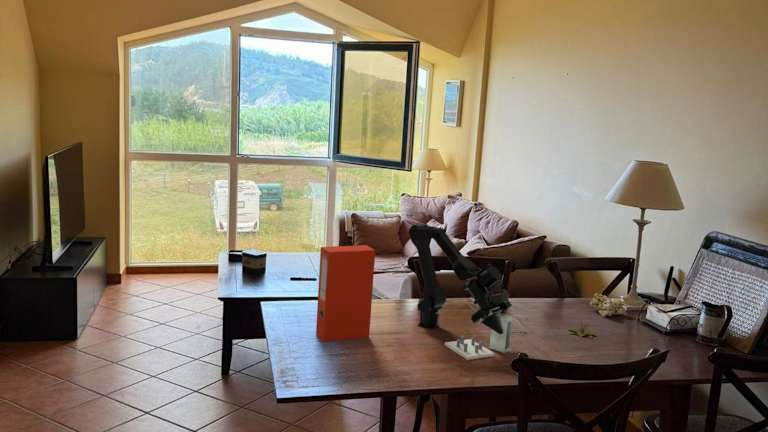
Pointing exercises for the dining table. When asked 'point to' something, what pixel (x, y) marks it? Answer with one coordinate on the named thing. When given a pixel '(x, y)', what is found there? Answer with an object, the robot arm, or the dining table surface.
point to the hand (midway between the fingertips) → (504, 332)
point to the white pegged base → (469, 348)
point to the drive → (503, 340)
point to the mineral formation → (607, 305)
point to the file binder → (345, 292)
